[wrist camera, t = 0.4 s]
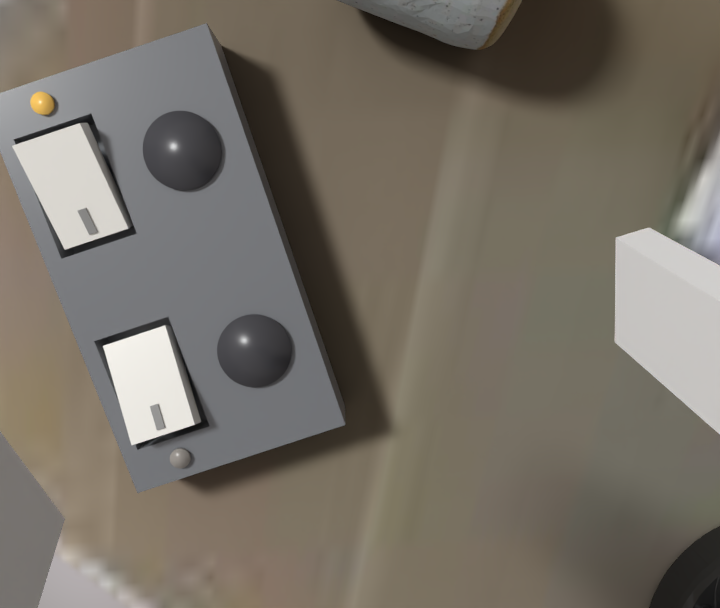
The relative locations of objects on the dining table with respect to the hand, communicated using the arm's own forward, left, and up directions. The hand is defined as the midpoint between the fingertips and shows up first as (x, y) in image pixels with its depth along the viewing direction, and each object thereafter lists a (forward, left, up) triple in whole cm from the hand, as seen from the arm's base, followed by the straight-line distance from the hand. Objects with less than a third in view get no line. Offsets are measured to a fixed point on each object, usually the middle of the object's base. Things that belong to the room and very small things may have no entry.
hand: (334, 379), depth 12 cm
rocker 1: (+9, +10, -16) cm, 21 cm away
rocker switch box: (+4, +7, -19) cm, 20 cm away
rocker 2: (-1, +10, -16) cm, 19 cm away
